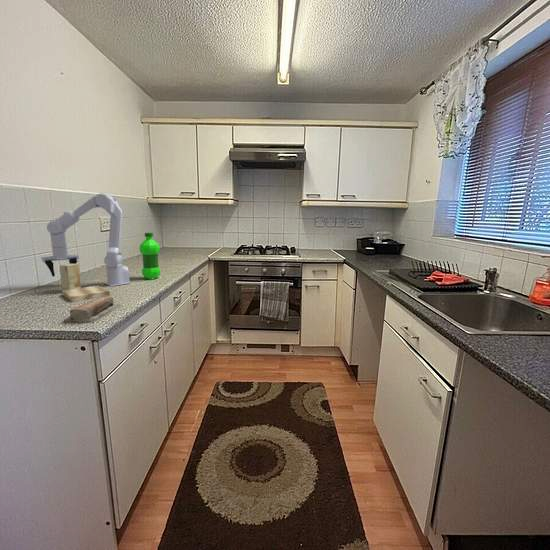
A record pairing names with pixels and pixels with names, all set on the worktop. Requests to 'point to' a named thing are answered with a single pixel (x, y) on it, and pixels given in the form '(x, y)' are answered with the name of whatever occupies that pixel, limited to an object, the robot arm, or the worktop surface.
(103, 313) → the brown rectangular block
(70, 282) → the skincare box
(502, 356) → the worktop surface
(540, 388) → the worktop surface
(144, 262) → the plastic bottle
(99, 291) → the wooden base
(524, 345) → the worktop surface
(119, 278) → the robot arm
